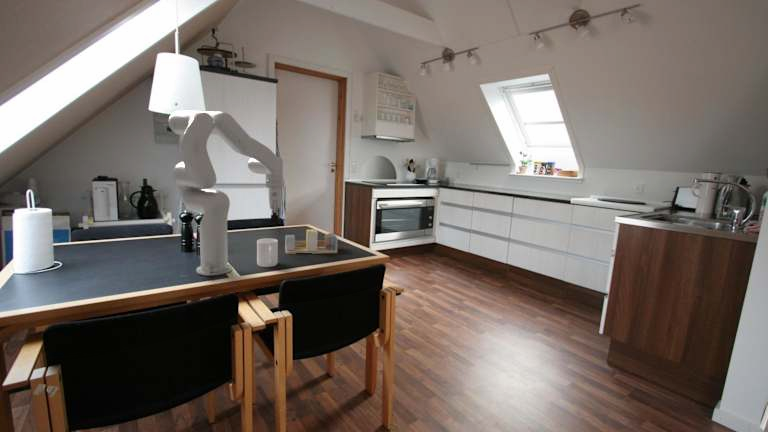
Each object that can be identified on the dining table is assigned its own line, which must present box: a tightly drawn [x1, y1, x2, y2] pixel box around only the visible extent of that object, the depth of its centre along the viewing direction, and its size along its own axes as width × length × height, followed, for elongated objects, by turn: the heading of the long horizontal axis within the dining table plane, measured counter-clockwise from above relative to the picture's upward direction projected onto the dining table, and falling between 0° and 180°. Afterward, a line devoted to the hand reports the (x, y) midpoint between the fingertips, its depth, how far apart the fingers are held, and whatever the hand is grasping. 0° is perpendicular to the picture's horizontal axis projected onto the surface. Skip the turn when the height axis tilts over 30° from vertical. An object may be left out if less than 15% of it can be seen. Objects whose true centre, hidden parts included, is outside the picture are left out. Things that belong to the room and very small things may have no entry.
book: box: [305, 228, 319, 251], centre depth 176 cm, size 7×4×9 cm, turn 18°
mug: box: [256, 237, 279, 268], centre depth 151 cm, size 12×8×10 cm
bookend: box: [284, 234, 296, 250], centre depth 174 cm, size 6×4×6 cm, turn 18°
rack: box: [284, 232, 339, 255], centre depth 177 cm, size 9×24×8 cm, turn 108°
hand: (274, 223), depth 171 cm, fingers closed
